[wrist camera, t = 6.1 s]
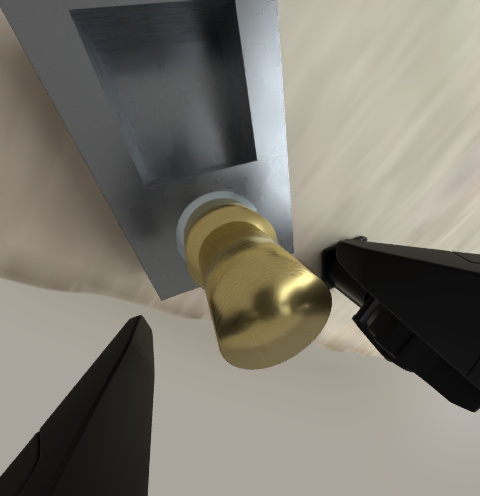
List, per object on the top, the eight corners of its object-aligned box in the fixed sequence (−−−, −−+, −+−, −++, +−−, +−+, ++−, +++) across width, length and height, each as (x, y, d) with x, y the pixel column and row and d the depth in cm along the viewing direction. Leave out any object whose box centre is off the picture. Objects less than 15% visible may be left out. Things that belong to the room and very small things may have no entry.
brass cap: (262, 255, 15) (341, 342, 8) (197, 278, 14) (222, 400, 7) (251, 188, 12) (353, 229, 5) (170, 211, 11) (167, 298, 4)
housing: (268, 232, 20) (295, 253, 16) (163, 266, 18) (161, 302, 14) (238, 13, 12) (275, -67, 8) (50, 31, 10) (-42, -65, 6)
